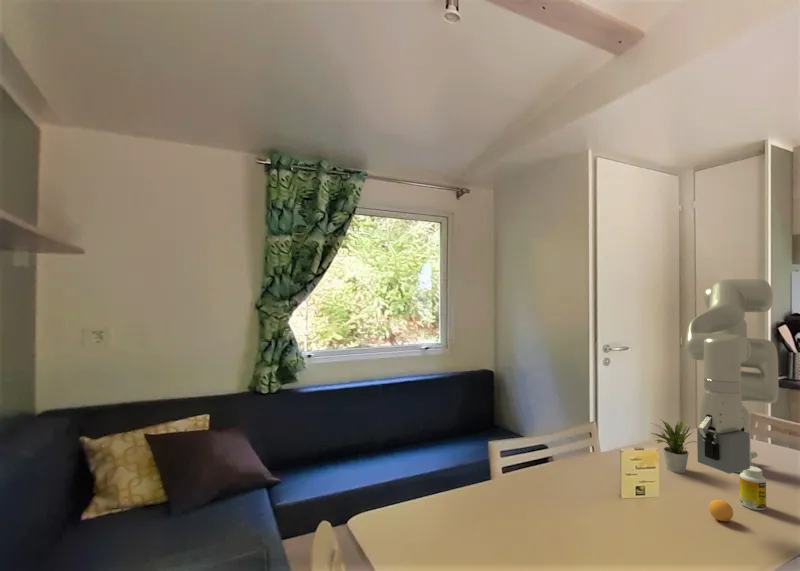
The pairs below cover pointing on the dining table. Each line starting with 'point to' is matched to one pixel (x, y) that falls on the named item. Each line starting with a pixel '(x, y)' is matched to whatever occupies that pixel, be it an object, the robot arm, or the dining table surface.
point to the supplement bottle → (753, 489)
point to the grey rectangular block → (727, 451)
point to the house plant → (675, 447)
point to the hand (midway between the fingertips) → (723, 455)
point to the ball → (721, 510)
